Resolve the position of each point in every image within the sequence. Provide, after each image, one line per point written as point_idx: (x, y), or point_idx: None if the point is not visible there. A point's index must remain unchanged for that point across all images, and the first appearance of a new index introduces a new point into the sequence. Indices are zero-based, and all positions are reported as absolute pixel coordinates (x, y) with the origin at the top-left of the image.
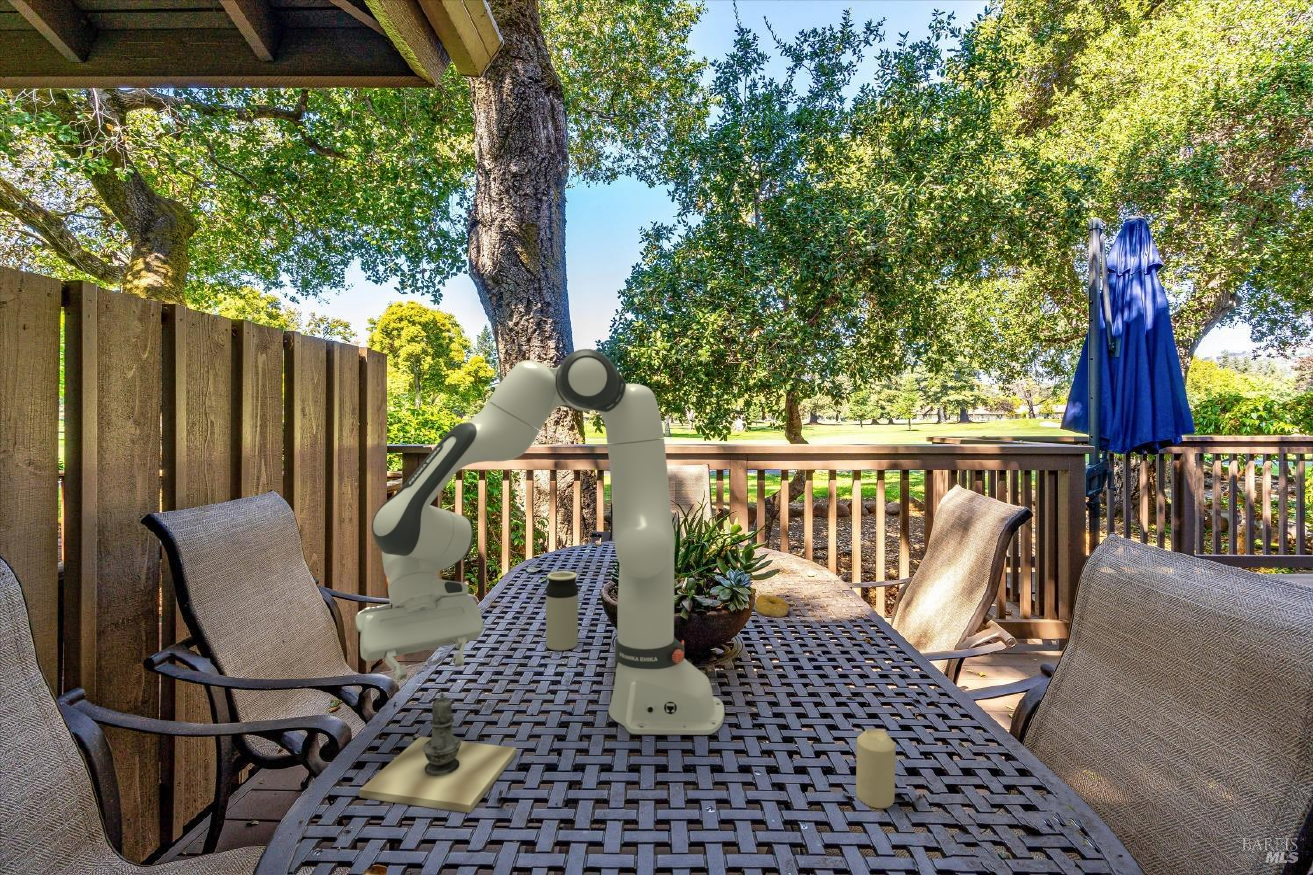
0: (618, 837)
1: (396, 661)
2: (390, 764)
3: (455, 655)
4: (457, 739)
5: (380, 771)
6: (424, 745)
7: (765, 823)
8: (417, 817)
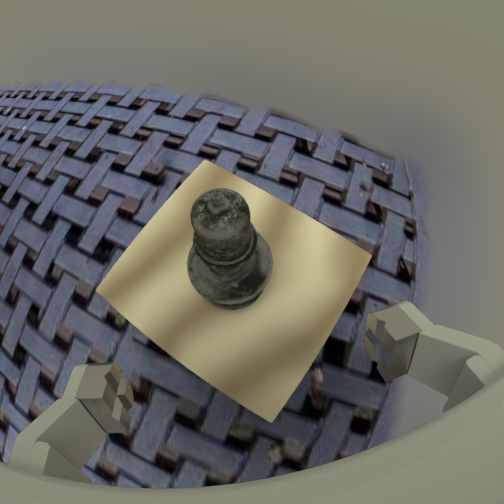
0: (92, 107)
1: (446, 340)
2: (330, 323)
3: (99, 392)
4: (193, 268)
5: (346, 303)
6: (268, 270)
7: (16, 113)
8: (276, 181)
